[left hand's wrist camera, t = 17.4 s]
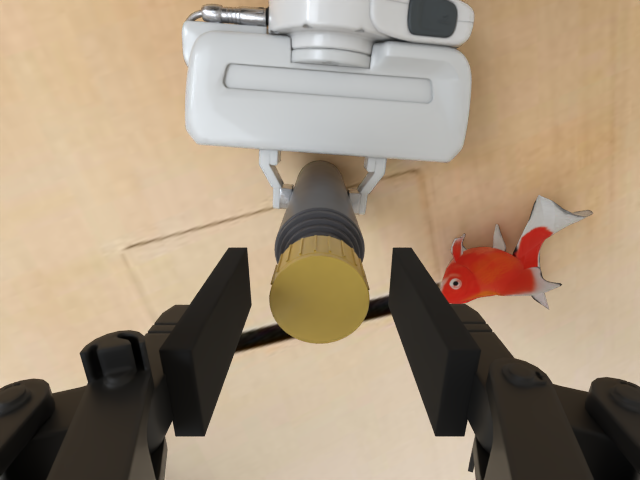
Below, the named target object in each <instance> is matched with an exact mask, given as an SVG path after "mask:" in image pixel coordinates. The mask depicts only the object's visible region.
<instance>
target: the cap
mask: <svg viewBox="0 0 640 480" xmlns="http://www.w3.org/2000/svg"><path fill="white" fill-rule="evenodd" d="M271 285H272V287H271V291H270V295H269V297H270V298H269V300H270V308H271V312H272V314H273V317H274V319H275V320H276V322H277V323H278V325H279V326H280V327H281V328H282V329H283V330H284V331H285V332H286V333H288V334H289V335H291V336H292V337H294V338H296V339H298V340H301V341H304V342H309V343H316V344H320V343H330V342H335V341H338V340H340V339H343V338H345V337H347V336H348V335H350V334H351V333H352V332H354V331H355V330H356V329H357V328H358V327H359V326H360V325H361V323H362V322H363V320H364V318H365V316H366V314H367V311H368V308H369V291H368V290H369V286H368V282H367V279H366V275H365V272H364V269H363V265H362V262H361V259H360V258H358V256H357V254H356V253H355V252H354V249H353V248H351V247H349V246H348V245H347V244H346V243H344V242H343V241H342V240H341V241H340V240H338V239H336V238H333V237H330V236H317V235H314V236H310V237H306V238H301V240H299V241H297V242H295V243H293V244H292V245H291V244H290V245H289V247H288V248H287V249H286V251H285V252H284V253H283V254H281V256H280V260H279V263H278V265H276V267H275V271H274V274H273V277H272V281H271Z"/></svg>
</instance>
